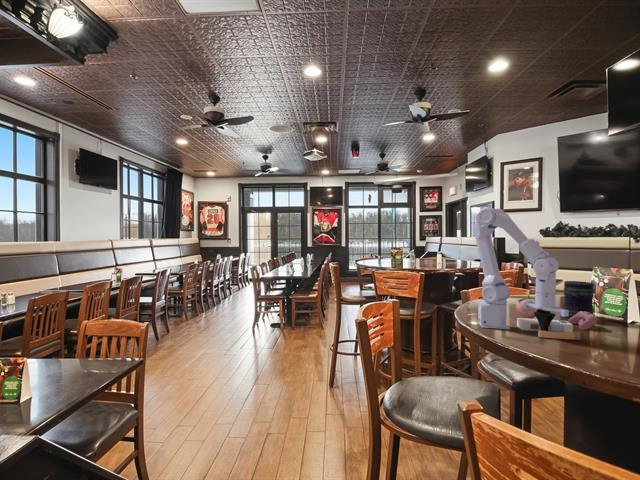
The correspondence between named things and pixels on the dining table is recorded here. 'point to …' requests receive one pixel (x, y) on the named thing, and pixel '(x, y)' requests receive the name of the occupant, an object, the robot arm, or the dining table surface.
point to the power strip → (534, 325)
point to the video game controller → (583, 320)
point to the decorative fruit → (525, 311)
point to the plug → (556, 327)
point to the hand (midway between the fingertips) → (544, 333)
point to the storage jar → (578, 297)
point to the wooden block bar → (559, 335)
